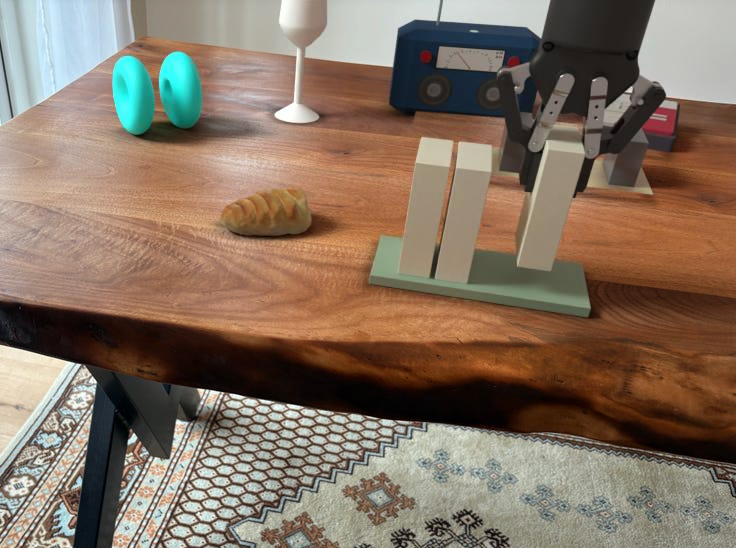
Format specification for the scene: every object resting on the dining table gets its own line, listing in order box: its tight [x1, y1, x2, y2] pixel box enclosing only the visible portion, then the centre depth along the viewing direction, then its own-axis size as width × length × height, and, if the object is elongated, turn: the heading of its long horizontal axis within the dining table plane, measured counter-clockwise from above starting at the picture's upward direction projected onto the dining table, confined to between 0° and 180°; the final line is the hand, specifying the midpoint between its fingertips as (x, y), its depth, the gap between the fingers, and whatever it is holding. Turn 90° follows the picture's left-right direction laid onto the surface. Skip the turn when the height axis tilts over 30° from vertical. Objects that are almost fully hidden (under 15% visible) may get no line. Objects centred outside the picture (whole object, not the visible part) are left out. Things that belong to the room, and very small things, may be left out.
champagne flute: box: [274, 0, 328, 124], centre depth 107 cm, size 7×7×24 cm
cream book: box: [514, 124, 586, 271], centre depth 69 cm, size 3×7×11 cm, turn 166°
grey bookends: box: [491, 112, 654, 195], centre depth 96 cm, size 20×10×6 cm, turn 76°
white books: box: [368, 136, 592, 318], centre depth 72 cm, size 20×9×12 cm, turn 76°
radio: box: [388, 0, 541, 119], centre depth 112 cm, size 21×9×20 cm, turn 82°
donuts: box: [112, 51, 203, 136], centre depth 104 cm, size 10×10×10 cm
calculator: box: [601, 93, 681, 153], centre depth 111 cm, size 11×4×15 cm
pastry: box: [220, 185, 312, 237], centre depth 82 cm, size 9×7×4 cm
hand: (549, 191), depth 69 cm, fingers closed on cream book, 3 cm apart
